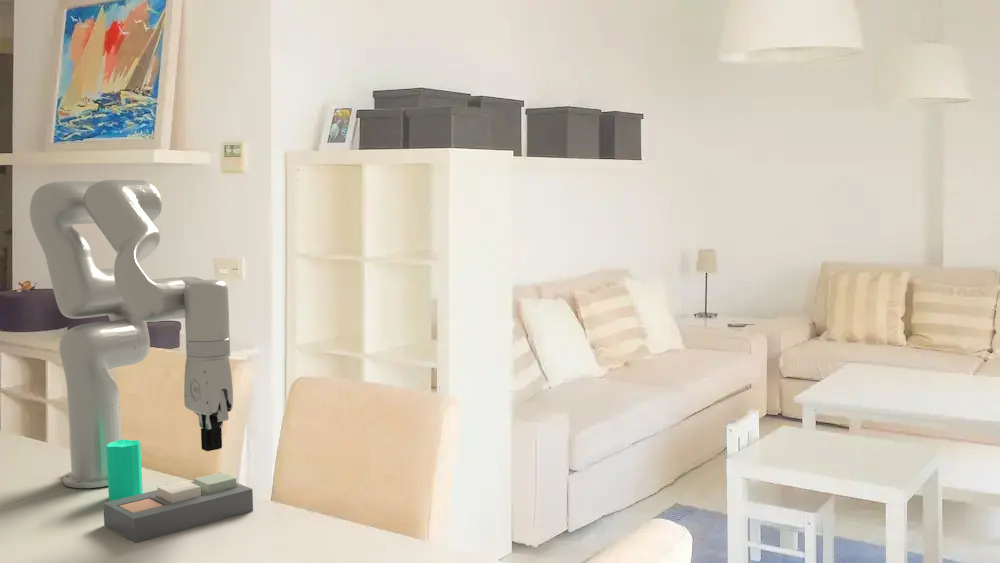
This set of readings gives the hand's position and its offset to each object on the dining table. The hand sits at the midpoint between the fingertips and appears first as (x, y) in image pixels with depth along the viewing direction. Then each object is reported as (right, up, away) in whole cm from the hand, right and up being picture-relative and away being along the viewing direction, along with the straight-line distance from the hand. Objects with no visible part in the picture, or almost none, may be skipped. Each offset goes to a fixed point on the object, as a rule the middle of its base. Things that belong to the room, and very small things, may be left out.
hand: (211, 449), depth 174 cm
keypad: (-5, -12, -4) cm, 13 cm away
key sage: (0, -9, +1) cm, 9 cm away
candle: (-19, -11, +8) cm, 23 cm away
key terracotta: (-9, -11, -9) cm, 17 cm away
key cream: (-5, -9, -4) cm, 11 cm away
